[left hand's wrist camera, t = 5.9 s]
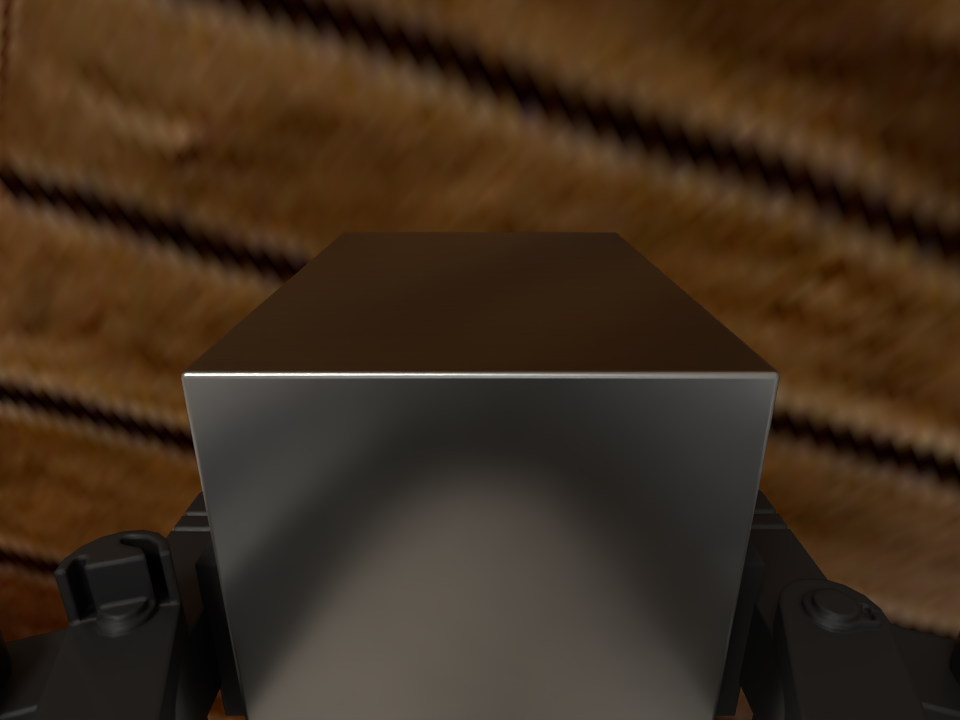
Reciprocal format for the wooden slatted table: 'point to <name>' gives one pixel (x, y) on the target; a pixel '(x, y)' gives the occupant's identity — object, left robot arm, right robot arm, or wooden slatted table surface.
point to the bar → (480, 482)
